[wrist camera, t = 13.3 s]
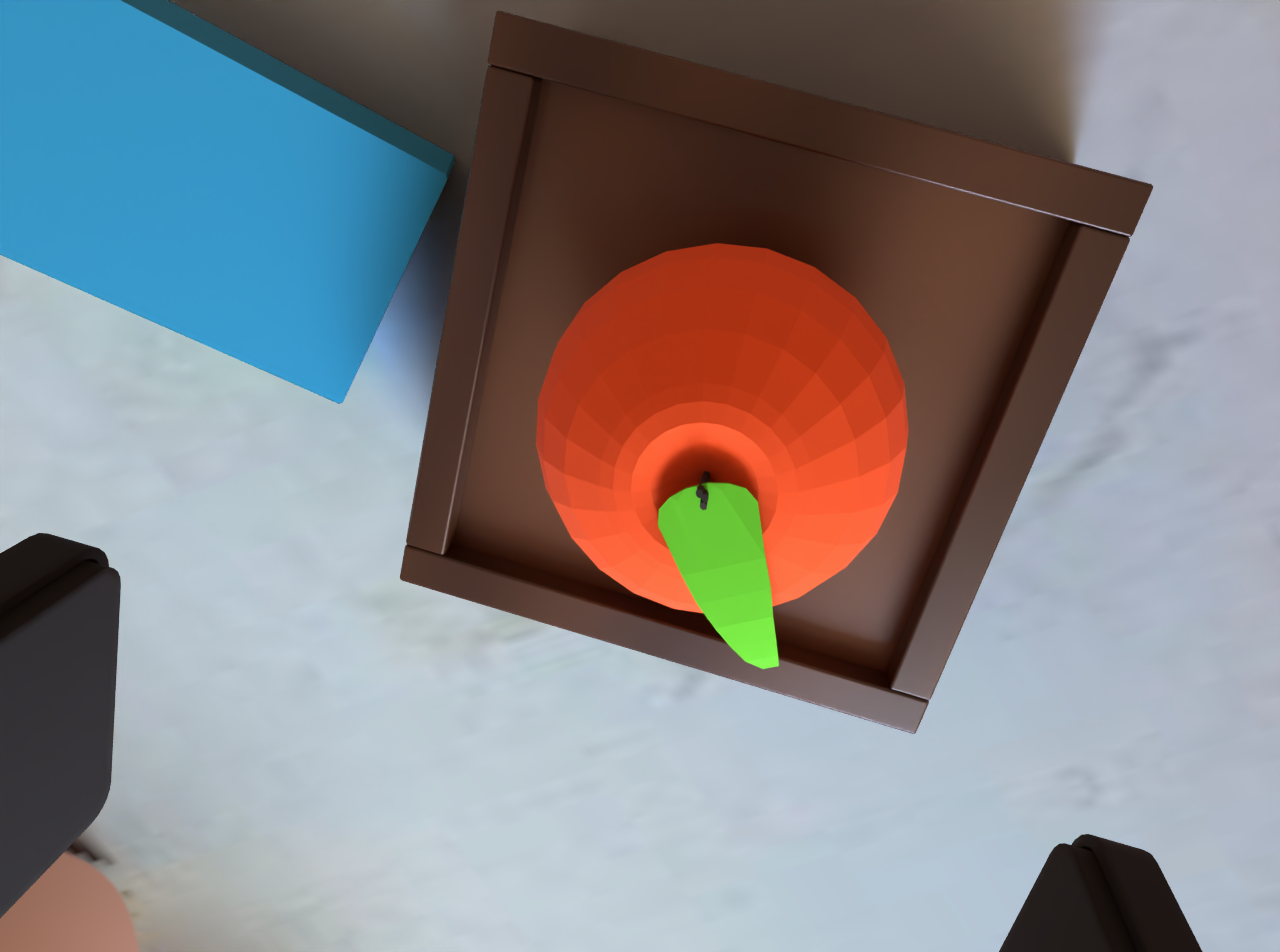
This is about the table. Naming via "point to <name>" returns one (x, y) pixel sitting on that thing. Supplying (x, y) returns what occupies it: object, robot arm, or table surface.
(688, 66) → the tray
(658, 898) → the table surface
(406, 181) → the lever
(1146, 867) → the robot arm
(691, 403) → the clementine
